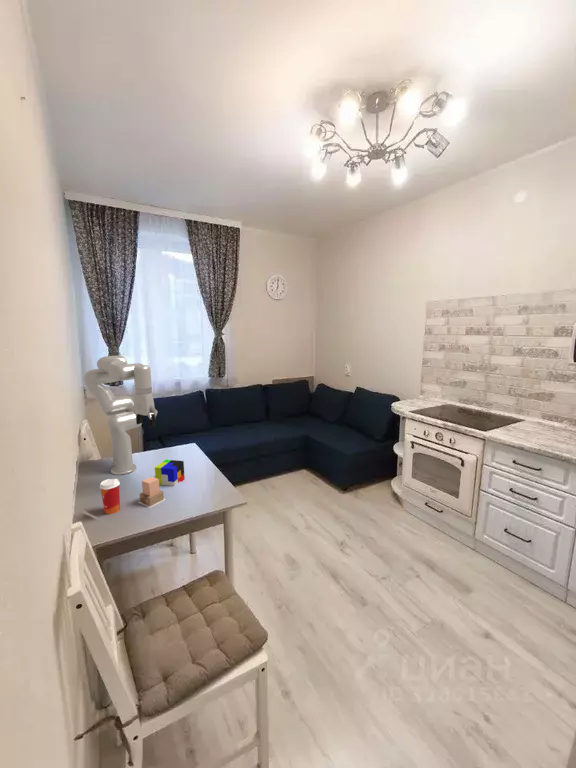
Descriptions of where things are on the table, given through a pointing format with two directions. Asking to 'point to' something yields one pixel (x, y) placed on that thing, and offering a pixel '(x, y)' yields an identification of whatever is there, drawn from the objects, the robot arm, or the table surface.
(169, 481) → the puzzle toy
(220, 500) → the table surface
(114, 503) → the paper cup
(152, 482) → the top block
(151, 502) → the base block
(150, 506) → the build mat
